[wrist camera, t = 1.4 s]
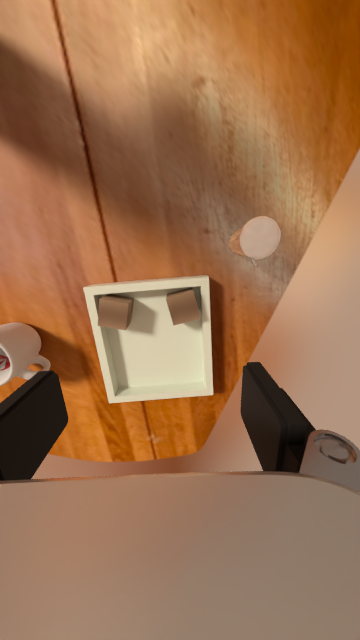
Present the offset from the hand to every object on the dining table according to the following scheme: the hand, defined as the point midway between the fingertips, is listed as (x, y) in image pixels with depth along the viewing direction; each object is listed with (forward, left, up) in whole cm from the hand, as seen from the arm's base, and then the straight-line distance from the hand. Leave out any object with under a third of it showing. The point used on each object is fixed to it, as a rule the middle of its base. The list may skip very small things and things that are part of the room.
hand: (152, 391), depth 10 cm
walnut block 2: (+1, +2, -23) cm, 23 cm away
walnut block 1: (+1, -8, -23) cm, 25 cm away
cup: (+6, -24, -24) cm, 34 cm away
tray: (+7, -3, -24) cm, 25 cm away
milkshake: (-7, +11, -24) cm, 27 cm away
